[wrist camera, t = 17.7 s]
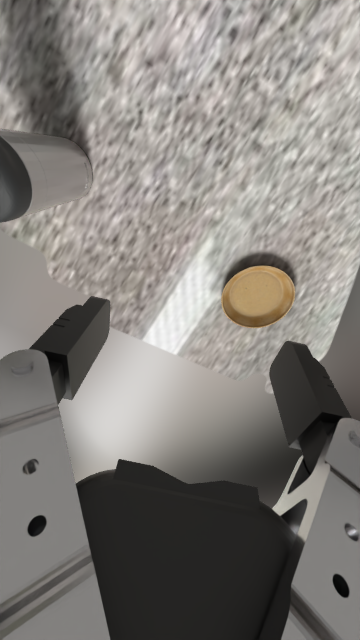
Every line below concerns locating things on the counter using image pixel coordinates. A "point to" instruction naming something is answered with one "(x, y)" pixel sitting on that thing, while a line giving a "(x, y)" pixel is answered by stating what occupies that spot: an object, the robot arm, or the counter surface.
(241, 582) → the robot arm
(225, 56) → the counter surface
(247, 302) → the plant saucer
